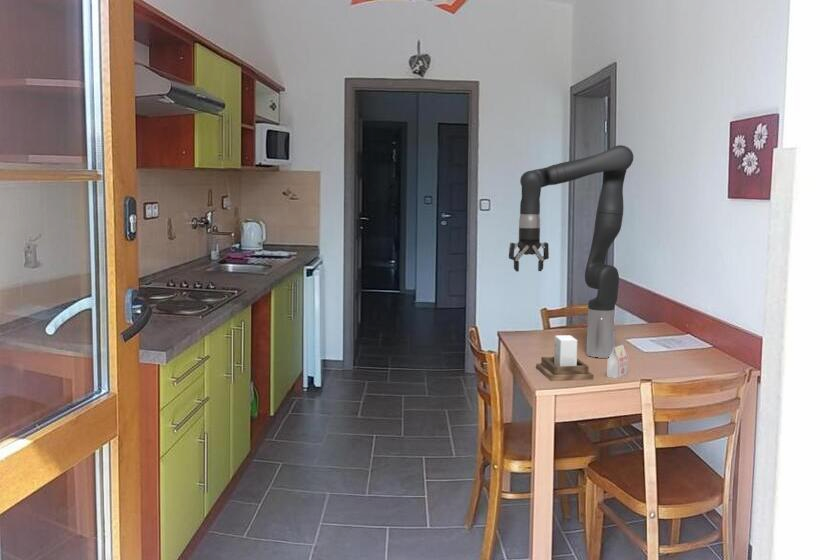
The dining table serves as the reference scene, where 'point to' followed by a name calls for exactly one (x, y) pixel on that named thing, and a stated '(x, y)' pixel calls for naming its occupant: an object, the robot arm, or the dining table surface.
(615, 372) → the milk carton
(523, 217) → the robot arm
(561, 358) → the small box
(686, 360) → the dining table surface
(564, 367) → the walnut cradle
